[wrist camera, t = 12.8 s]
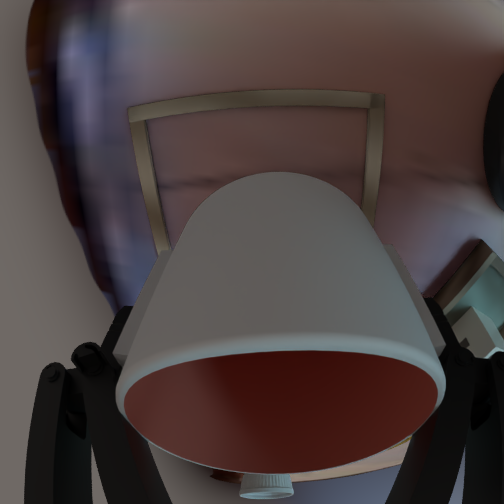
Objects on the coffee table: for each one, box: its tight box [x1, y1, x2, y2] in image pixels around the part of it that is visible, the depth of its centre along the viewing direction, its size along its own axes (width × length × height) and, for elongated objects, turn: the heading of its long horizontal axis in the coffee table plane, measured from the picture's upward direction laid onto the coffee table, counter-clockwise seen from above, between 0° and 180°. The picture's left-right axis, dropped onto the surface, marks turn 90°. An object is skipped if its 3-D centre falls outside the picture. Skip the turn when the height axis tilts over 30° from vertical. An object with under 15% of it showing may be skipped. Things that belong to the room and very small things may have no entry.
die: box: [451, 306, 504, 359], centre depth 25 cm, size 6×6×6 cm
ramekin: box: [239, 473, 294, 499], centre depth 56 cm, size 13×13×7 cm
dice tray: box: [433, 240, 504, 340], centre depth 27 cm, size 18×18×2 cm
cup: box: [116, 172, 446, 474], centre depth 12 cm, size 10×10×10 cm
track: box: [127, 89, 385, 256], centre depth 27 cm, size 43×16×1 cm, turn 4°
